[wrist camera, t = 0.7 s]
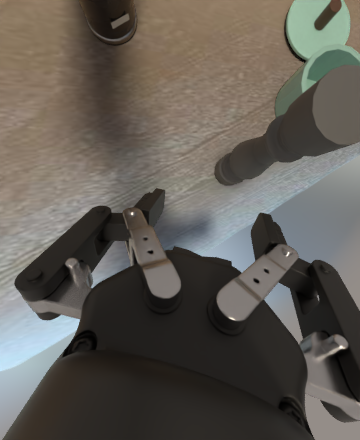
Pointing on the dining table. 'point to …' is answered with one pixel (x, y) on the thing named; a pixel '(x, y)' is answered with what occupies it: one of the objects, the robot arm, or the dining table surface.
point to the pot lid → (316, 25)
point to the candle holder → (302, 128)
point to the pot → (314, 73)
